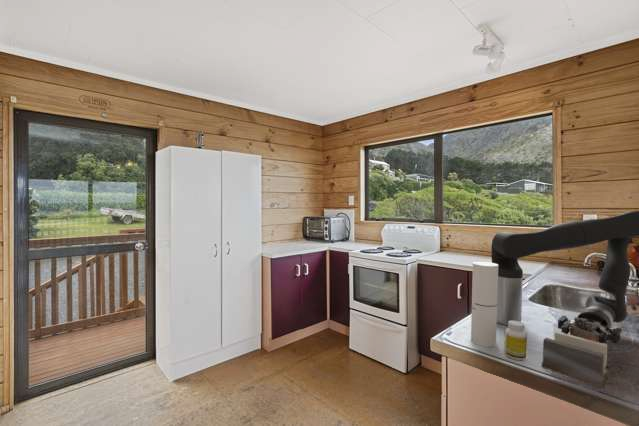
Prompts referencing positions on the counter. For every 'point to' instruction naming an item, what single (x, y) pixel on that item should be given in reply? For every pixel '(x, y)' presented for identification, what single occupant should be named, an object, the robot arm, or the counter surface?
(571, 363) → the gauge base
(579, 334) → the lighter
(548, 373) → the counter surface
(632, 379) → the counter surface
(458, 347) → the counter surface
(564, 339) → the gauge plate
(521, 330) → the supplement bottle
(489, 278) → the cylindrical container
